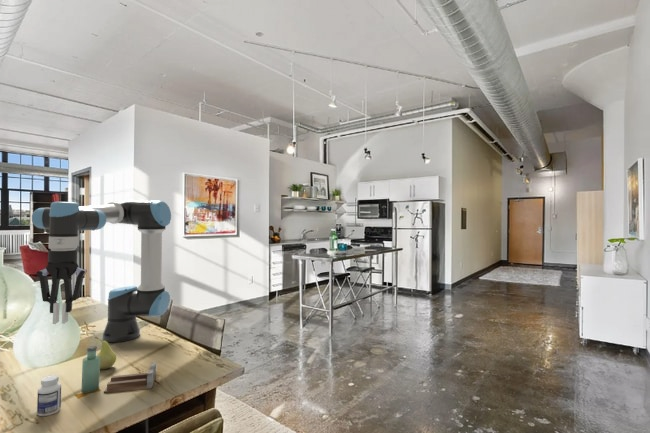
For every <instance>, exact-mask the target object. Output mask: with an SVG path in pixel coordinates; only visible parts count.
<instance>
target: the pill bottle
mask: <svg viewBox="0 0 650 433" xmlns="http://www.w3.org/2000/svg"><path fill="white" fill-rule="evenodd" d="M59 377H60V376H59V375H57V374H53V375H48V376H45V377H42V378H41V380H40V387H39V388H38V389H37V402H36V404H37V407H36V413H37V416H39V417H46V416H51V415H54V414H56V413H57V412H59V411H60V409H61V406H62V383H60V382H59V380H60V379H59Z"/></svg>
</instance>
